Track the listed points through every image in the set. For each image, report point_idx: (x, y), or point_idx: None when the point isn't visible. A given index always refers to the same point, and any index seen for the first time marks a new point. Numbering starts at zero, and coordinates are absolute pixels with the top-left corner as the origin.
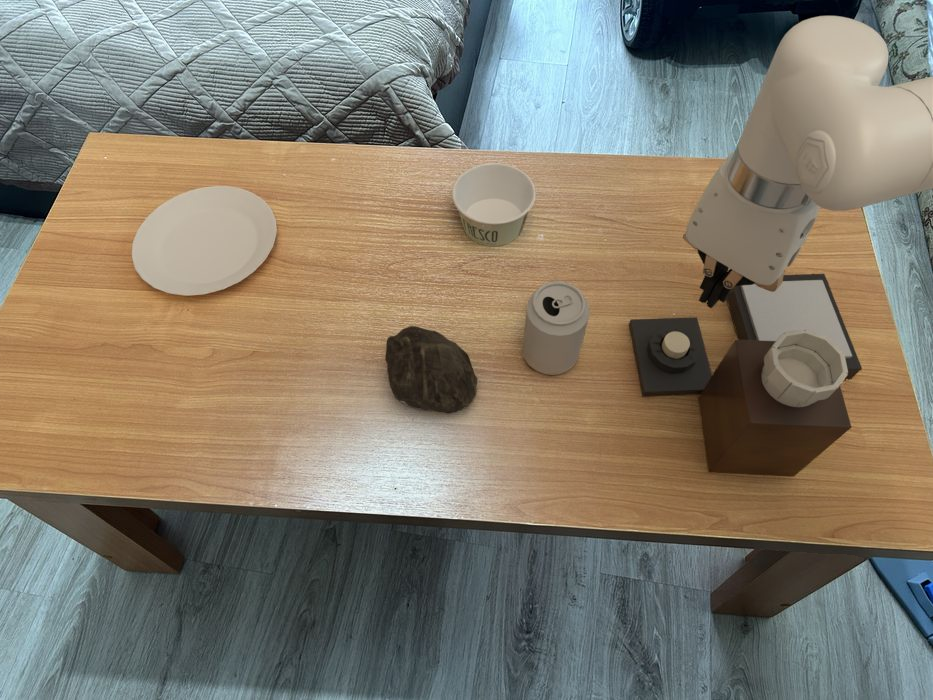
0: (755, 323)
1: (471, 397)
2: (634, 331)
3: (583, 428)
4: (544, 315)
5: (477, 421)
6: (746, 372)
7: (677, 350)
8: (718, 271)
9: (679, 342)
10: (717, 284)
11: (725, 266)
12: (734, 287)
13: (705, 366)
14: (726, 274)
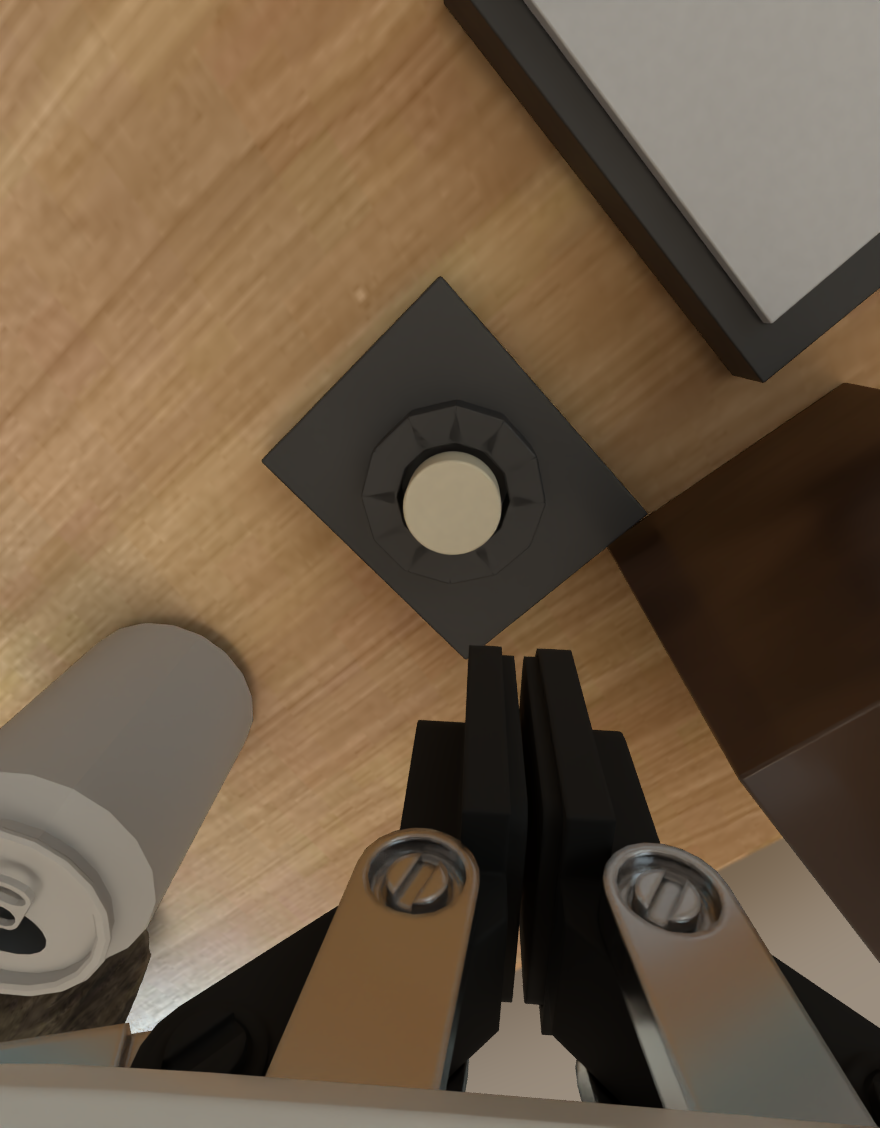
0: (668, 172)
1: (136, 944)
2: (304, 496)
3: (399, 803)
4: (17, 964)
5: (199, 921)
6: (863, 895)
7: (473, 542)
8: (484, 1027)
9: (460, 507)
10: (536, 1003)
11: (505, 932)
12: (638, 780)
13: (577, 459)
14: (564, 1015)
